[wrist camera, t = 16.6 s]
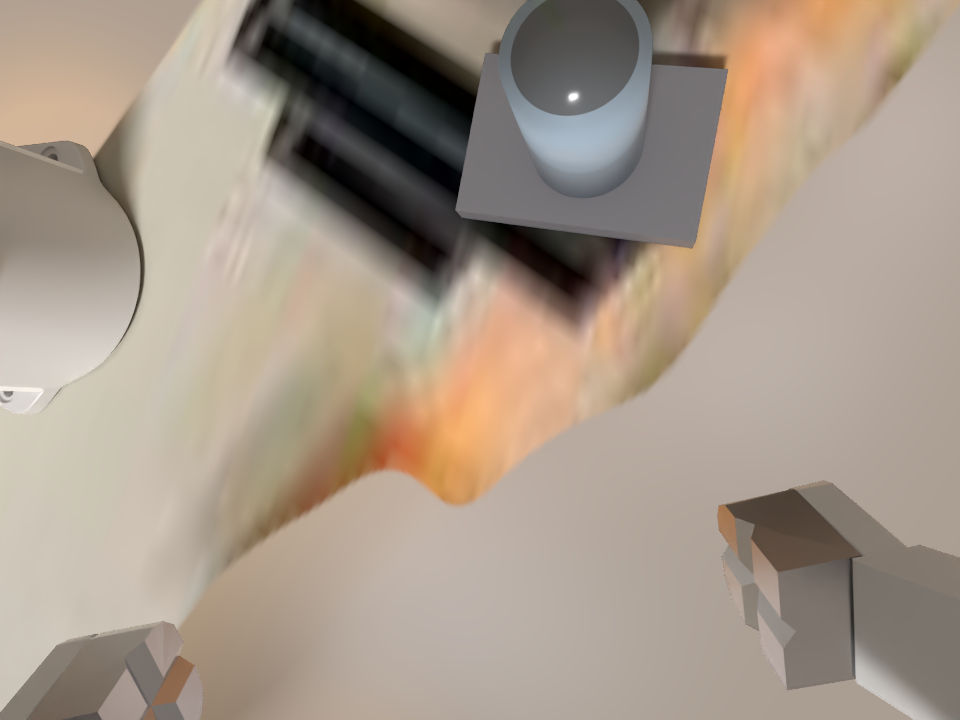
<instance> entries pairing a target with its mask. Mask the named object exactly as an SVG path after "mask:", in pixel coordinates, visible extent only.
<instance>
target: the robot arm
mask: <svg viewBox="0 0 960 720" xmlns="http://www.w3.org/2000/svg"><path fill="white" fill-rule="evenodd" d="M139 286H140V256H139V250H138V245H137V240H136V237H135V234H134V231H133V228H132V226H131V224H130V221H129V219H128V217H127V216H126V214H125V212H124V211H123V209H122V208H121V206H120V205H119V204H118V202H117V201H116V200H115V199H114V198H113V197H112V196H111V195H110V193H109V192H108V191H107V190H106V189H105V188H104V186H103V185H102V183H101V182H100V179H99V176H98V173H97V170H96V167H95V164H94V161H93V158H92V156H91V154H90V152H89V151H88V149H87V148H86V147H84V146H82V145H80V144H76V143H73V142H70V141H59V142H51V143H42V144H34V145H25V146H13V145H11V144H8V143H5V142H2V141H0V406H1V407H3V408H5V409H7V410H9V411H11V412H13V413H15V414H24V415H34V414H37V413H38V412H40V411H41V410H42V409H43V408H44V407H45V406H46V405H47V404H48V403H49V402H50V401H51V400H52V398H53V397H54V396H55V395H56V393H57V392H58V391H59V390H60V388H62V387H63V386H64V385H66V384H68V383H69V382H71V381H73V380H75V379H77V378H79V377H81V376H83V375H85V374H87V373H88V372H90V371H91V370H93V369H94V368H96V367H97V366H98V365H99V364H100V363H102V362H103V361H104V360H105V359H106V358H107V357H108V356H109V355H110V353H111V352H112V351H113V350H114V349H115V347H116V346H117V345H118V343H119V342H120V340H121V339H122V337H123V335H124V333H125V331H126V329H127V327H128V325H129V323H130V321H131V318H132V316H133V313H134V310H135V306H136V303H137V298H138V293H139ZM717 517H718V526H719V531H720V533H721V534H722V536H723V537H724V538H725V540H726V541H727V543H728V544H729V545H728V547H727V549H726V550H725V552H724V554H723V555H722V560H723V568H724V575H725V579H726V582H727V586H728V589H729V592H730V596H731V598H732V600H733V602H734V604H735V606H736V609H737V611H738V612H739V614H740V616H741V617H742V619H743V621H744V622H745V624H746V625H748V626H750V627H752V628H754V629H756V630H758V631H759V634H760V643H761V650H762V652H763V653H764V655H765V656H766V658H767V659H768V661H769V663H770V664H771V666H772V667H773V669H774V670H775V672H776V674H777V675H778V677H779V679H780V680H781V682H782V683H783V685H784V686H785V688H786V690H792V689H798V688H803V687H809V686H816V685H822V684H828V683H833V682H840V681H846V680H852V679H856V683H858V684H859V685H861V686H862V687H864V688H865V689H867V690H869V691H870V692H872V693H873V694H875V695H877V696H878V697H880V698H881V699H883V700H884V701H886V702H887V703H889V704H890V705H892V706H894V707H895V708H897V709H898V710H900V711H901V712H903V713H904V714H906V715H908V716H909V717H911V718H912V719H914V720H960V558H959V557H956V556H953V555H950V554H946V553H943V552H940V551H937V550H934V549H931V548H927V547H925V546H921V545H917V546H912V547H907V546H906V545H904V544H903V543H902V542H901V541H900V540H899V539H897V538H896V537H895V536H894V535H892V534H891V533H890V532H889V531H888V530H887V529H886V528H884V527H883V526H882V525H881V524H880V523H879V522H877V521H876V520H875V519H874V518H872V517H871V516H870V515H869V514H868V513H867V512H865V511H864V510H863V509H862V508H861V507H860V506H859V505H857V504H856V503H855V502H854V501H853V500H851V499H850V498H849V497H848V496H846V495H845V494H844V493H843V492H842V491H841V490H840V489H838V488H837V487H836V486H835V485H834V484H833V483H831V482H827V481H819V482H815V483H812V484H807V485H803V486H799V487H795V488H790V489H788V490H786V491H782V492H777V493H773V494H768V495H764V496H759V497H755V498H751V499H746V500H741V501H736V502H732V503H727V504H723V505H719V506H718V515H717ZM182 645H183V640H182V638H181V637H180V635H179V633H178V631H177V629H176V627H175V625H174V624H171V623H167V622H164V621H162V622H157V623H152V624H146V625H141V626H135V627H130V628H125V629H119V630H114V631H109V632H103V633H100V634H93V635H89V636H84V637H79V638H74V639H70V640H67V641H65V642H63V643H61V644H59V645H57V646H56V647H55V648H54V649H53V650H52V652H51V653H50V654H49V655H48V656H47V658H46V659H45V660H44V661H43V662H42V664H41V665H40V666H39V667H38V668H37V670H36V671H35V672H34V673H33V674H32V675H31V677H30V678H29V679H28V680H27V681H26V683H25V684H24V685H23V686H22V687H21V689H20V690H19V691H18V692H17V693H16V695H15V696H14V697H13V698H12V699H11V700H10V702H9V703H8V704H7V705H6V706H5V708H4V709H3V710H2V711H1V712H0V720H200V717H201V710H202V703H203V689H202V684H201V678H200V676H199V674H198V672H197V669H196V668H195V665H193V664H192V663H190V662H188V661H187V660H185V659H183V658H182V657H180V656H179V654H180V651H181V648H182Z"/></svg>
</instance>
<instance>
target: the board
mask: <svg viewBox="0 0 960 720" xmlns="http://www.w3.org/2000/svg"><path fill="white" fill-rule="evenodd" d="M727 73H728V69H715V68H700V67H685V66H671V65H656V64H651V74H650V85H649V95H648V106H647V117H646V128H645V139H644V147H643V152H642V156H641V158H640V161H639V163H638V165H637V167H636V168H635V170H634V171H633V173H632V174H631V175H630V177H629V178H628V179H627V180H626V181H625V182H624V183H622V184H621V185H620V186H619V187H617V188H616V189H614V190H612V191H610V192H608V193H606V194H604V195H600V196H597V197H592V198H574V197H569V196H566V195H563V194H560V193H558V192H556V191H555V190H553V189H552V188H550V187H549V186H548V185H547V184H546V183H545V182H544V181H543V180H542V179H541V177H540V176H539V174H538V173H537V171H536V169H535V166H534V164H533V161H532V159H531V156H530V154H529V151H528V149H527V146H526V144H525V141H524V139H523V136H522V134H521V131H520V129H519V126H518V124H517V121H516V119H515V116H514V113H513V111H512V108H511V106H510V103H509V101H508V98H507V96H506V93H505V91H504V88H503V86H502V82H501V79H500V74H499V54H492V53H485V57H484V62H483V68H482V73H481V78H480V83H479V89H478V94H477V99H476V105H475V110H474V115H473V120H472V126H471V131H470V136H469V142H468V147H467V152H466V158H465V163H464V168H463V173H462V179H461V184H460V189H459V195H458V200H457V205H456V211H457V212H458V214H459V215H460V216H461V217H462V218H469V219H476V220H484V221H491V222H499V223H506V224H514V225H521V226H529V227H536V228H544V229H551V230H559V231H566V232H574V233H582V234H589V235H597V236H604V237H612V238H619V239H627V240H634V241H642V242H649V243H657V244H664V245H672V246H679V247H687V248H693V246H694V244H695V242H696V238H697V233H698V227H699V222H700V217H701V211H702V206H703V201H704V195H705V190H706V185H707V179H708V174H709V169H710V163H711V158H712V153H713V148H714V142H715V137H716V132H717V126H718V121H719V116H720V110H721V105H722V100H723V94H724V89H725V84H726V79H727Z"/></svg>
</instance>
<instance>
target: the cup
mask: <svg viewBox="0 0 960 720" xmlns="http://www.w3.org/2000/svg"><path fill="white" fill-rule="evenodd" d="M652 52H653V37H652V30H651V26H650V23H649V20H648V17H647V15H646V13H645V11H644V9H643V8H642V6H641V5H640V4H639V2H638V1H637V0H528V1H526V2H525V3H524V4H523V5H522V6H521V8H520V9H519V10H518V11H517V12H516V14H515V15H514V16H513V18H512V19H511V21H510V23H509V24H508V26H507V28H506V30H505V33H504V35H503V38H502V41H501V45H500V50H499V74H500V79H501V82H502V86H503V88H504V91H505V93H506V96H507V98H508V101H509V103H510V106H511V108H512V111H513V113H514V116H515V119H516V121H517V124H518V126H519V129H520V131H521V134H522V136H523V139H524V141H525V144H526V146H527V149H528V151H529V154H530V156H531V159H532V161H533V164H534V166H535V169H536V171H537V173H538V174H539V176H540V177H541V179H542V180H543V181H544V182H545V183H546V184H547V185H548V186H549V187H550V188H552V189H553V190H555V191H556V192H558V193H560V194H563V195H566V196H569V197H574V198H592V197H597V196H600V195H604V194H606V193H608V192H610V191H612V190H614V189H616V188H617V187H619V186H620V185H621V184H622V183H624V182H625V181H626V180H627V179H628V178H629V177H630V175H631V174H632V173H633V171H634V170H635V168H636V167H637V165H638V163H639V161H640V158H641V156H642V152H643V147H644V139H645V128H646V117H647V106H648V95H649V85H650V74H651V63H652Z"/></svg>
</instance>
